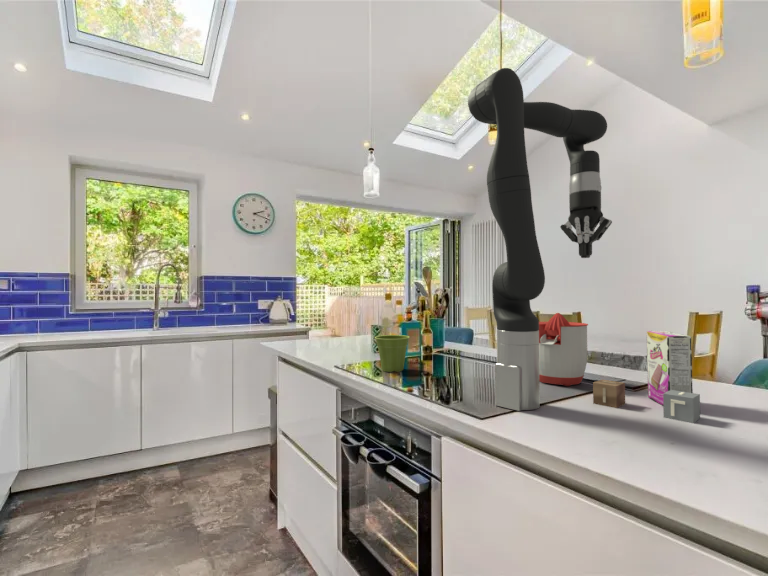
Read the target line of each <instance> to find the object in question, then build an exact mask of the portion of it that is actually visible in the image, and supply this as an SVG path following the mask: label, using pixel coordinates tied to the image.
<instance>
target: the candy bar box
mask: <svg viewBox="0 0 768 576" xmlns="http://www.w3.org/2000/svg"><path fill="white" fill-rule="evenodd" d="M692 353H693V352H692V336H690V335H686V334H681V333H678V332H673V331H668V330H647V331H646V354H647V355H646V357H647V358H646V359H647V360H646V361H647V397H648V398H649V399H651V400H652V401H654V402H656V403H657V404H659V405H661V406H663V394H664V393H666V392H668V391H670V390H675V391H682V392H688V393H694V392H693V390H694V389H693V357H692V356H693V355H692Z"/></svg>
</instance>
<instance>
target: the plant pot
mask: <svg viewBox="0 0 768 576" xmlns="http://www.w3.org/2000/svg"><path fill="white" fill-rule="evenodd" d="M410 338H411V337H410V336H409V335H403V334H401V335H400V334H389V335H388V334H386V335H378V336H374V339H375V340H376V345H377V348H378V354H379V360H380V361H379V362H380V367H381V370H382V371H383V372H387V373H392V372H396V373H398V372H402V371H404V367H405V361H406V355H407V354H406V353H407V347H408V343H409V339H410Z"/></svg>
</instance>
